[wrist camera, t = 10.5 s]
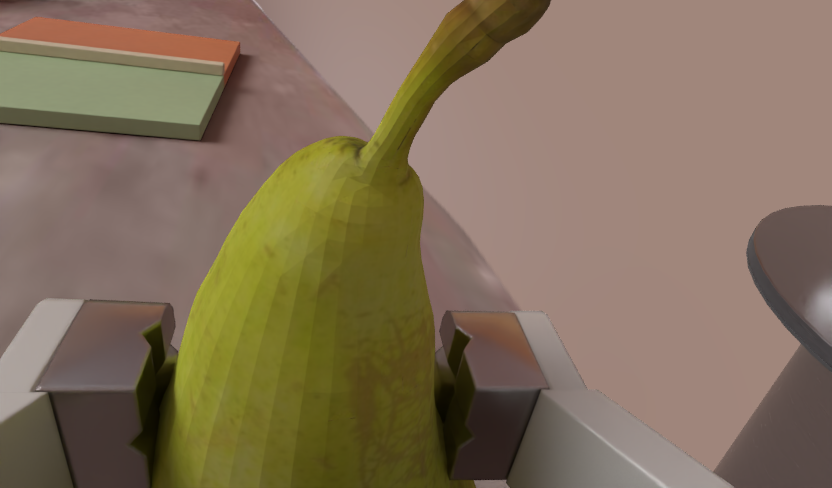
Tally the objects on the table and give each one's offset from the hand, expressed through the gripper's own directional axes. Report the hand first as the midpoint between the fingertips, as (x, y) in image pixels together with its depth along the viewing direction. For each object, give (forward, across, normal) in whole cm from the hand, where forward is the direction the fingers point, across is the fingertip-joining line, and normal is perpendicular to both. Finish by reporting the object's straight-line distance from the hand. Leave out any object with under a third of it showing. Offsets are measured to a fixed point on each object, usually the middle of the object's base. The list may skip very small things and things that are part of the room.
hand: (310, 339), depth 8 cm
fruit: (-1, 0, +7) cm, 7 cm away
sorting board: (+36, +14, +8) cm, 40 cm away
